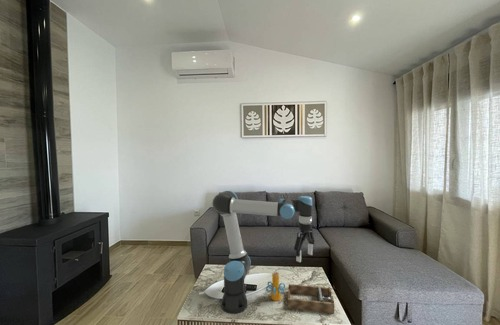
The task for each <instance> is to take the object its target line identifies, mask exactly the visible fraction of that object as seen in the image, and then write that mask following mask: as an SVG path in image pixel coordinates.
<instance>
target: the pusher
mask: <svg viewBox="0 0 500 325" xmlns="http://www.w3.org/2000/svg"><path fill="white" fill-rule="evenodd" d="M317 287H318V301H319V302H324V300H328V301H329V300H331V298H329V297H327V296H322V293H321V288H320V287H321V286H317Z"/></svg>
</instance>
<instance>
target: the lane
mask: <svg viewBox="0 0 500 325" xmlns="http://www.w3.org/2000/svg"><path fill="white" fill-rule="evenodd" d="M318 287H320V288H321V293H322V297H329V298H331V300H328V301H329V302H327V301H326V302H325V301H323V302H319V300H318V301H317V300H308V299H301V298H300V299H297V298H291V294H296V295H297V294H298V295H307V296H318ZM287 293H288V294H287V296H288V298H287V308H288V309H295V310H303V311H311V312H321V313H329V314H335V300H334V297H333V295H332V289H331V286H328V287H325V286H324V287H323V286H312V285H304V284H303V285H302V284H292V283H288V292H287ZM318 297H319V296H318Z"/></svg>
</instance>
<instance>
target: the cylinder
mask: <svg viewBox="0 0 500 325" xmlns="http://www.w3.org/2000/svg"><path fill="white" fill-rule="evenodd" d="M271 275H272V276H271V277H272V281H268V282H267V286H266V288H265V290H266V292H268V293H270V298H271V300H272V301H275V302H277V301H280V300H281V298H282V297H281V296H282V295H283V294H285V288H286V284H285V283H284V282H280V273H279V272H278V271H273V272H272V274H271ZM282 285H283V286H282ZM268 289H270V290H268Z"/></svg>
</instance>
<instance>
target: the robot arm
mask: <svg viewBox="0 0 500 325" xmlns="http://www.w3.org/2000/svg"><path fill="white" fill-rule="evenodd" d="M211 204H212V208H213V209H214V211H215V212H217V213H219V215H221V217H222V218H223V223H224V227H225V232H226V238H227V242H228V248H229V252H230V253H229V255H228V260H229V262H227V263H226V264H225V265H224V268H223V280H224V281H223V289H224V291H223V295H222V298H221V304H220V305H221V306H220V307H221V310H222V311H223V312H225V313H227V314H229V315H230V314H231V315H232V314H233V315H236V314H240V313H242V312H244V311H245V310H247V308H248V298H247V295H246V292H245V279H246V277H247V274H248V272H249V270H250V269H251V263H252V262H251V258H250V256H249V255H248V252H247V251H246V250H245V249H244V244H243V240H242V236H241V230H240V226H239V222H238V221H239V220H238V215H237V214H245V215H246V214H247V215H259V216H268V217H269V216H272V217H274V216H275V217H282V218H283V219H285V220H289V219H292V218H293V216H294V215H295V213H298V229H299V230H300V232H297V236H296V240H295V243H294V248H293V251H296V252H295V253H296V255H295V257H296V258H295V259H296V260H295V261H296V262H298V263H301V262H302V247H303V244H304V241H306V240H307V242H308V243H307V254H308V255H309V256H313V248H314V246H313V245H315V241H316V240H315V237H314V233H313V228H312V227H313V226H312V225H313V224H312V222H313V221H312V220H313V198H312V197H311V196H307V195H301V196H299V198H298V199H292V198H279V201H278V202H276V201H263V200H253V199H252V200H249V199H239V198H238V195H237V194H236V193H235V192H234V191H232V190H225V191H222V192H220V193H217V194H216V195H215V196H214V197H213V199H212V203H211Z"/></svg>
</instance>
